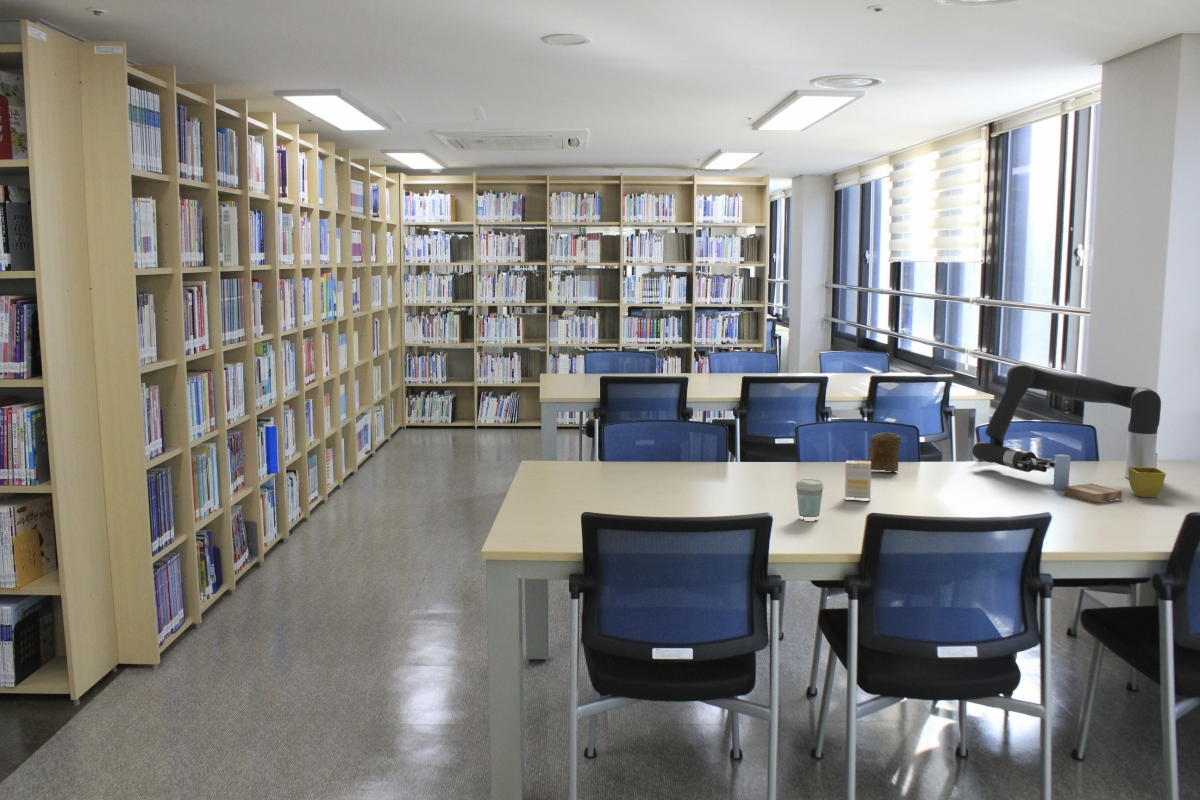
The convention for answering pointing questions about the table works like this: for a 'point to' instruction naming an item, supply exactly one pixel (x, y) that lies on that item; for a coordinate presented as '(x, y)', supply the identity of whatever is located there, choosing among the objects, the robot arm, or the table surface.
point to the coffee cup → (809, 497)
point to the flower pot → (1146, 481)
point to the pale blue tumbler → (1061, 472)
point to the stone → (884, 451)
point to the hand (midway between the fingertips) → (1055, 468)
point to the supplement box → (858, 479)
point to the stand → (1092, 493)
